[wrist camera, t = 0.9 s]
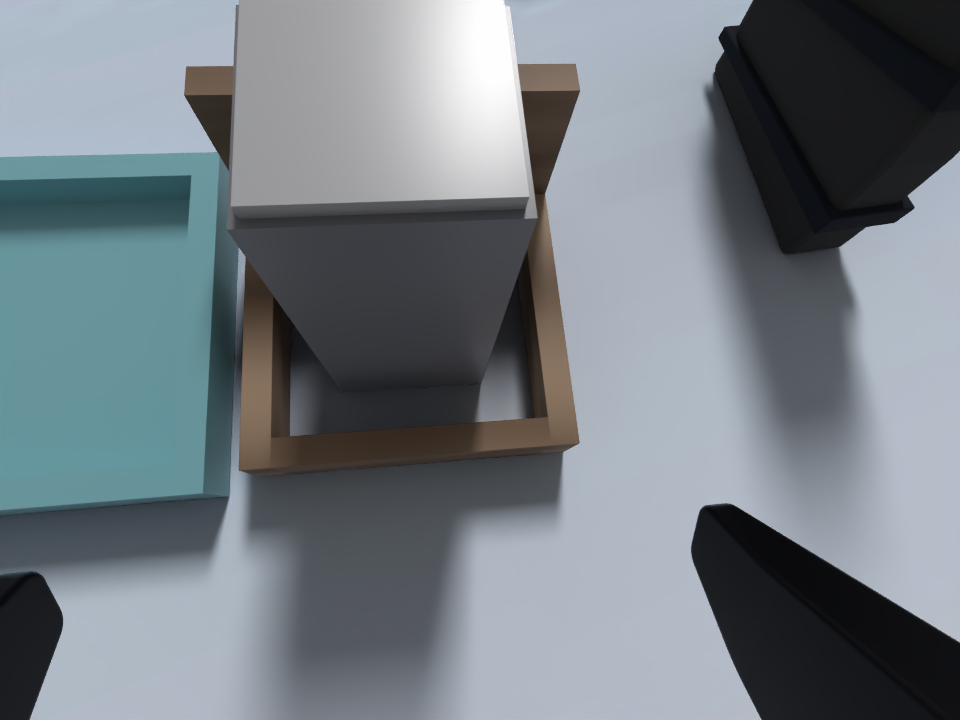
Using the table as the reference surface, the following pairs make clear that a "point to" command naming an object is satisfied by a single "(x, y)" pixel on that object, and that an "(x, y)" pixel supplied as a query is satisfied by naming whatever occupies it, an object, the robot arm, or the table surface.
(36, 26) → the table surface
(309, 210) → the grey lidded box
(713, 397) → the table surface
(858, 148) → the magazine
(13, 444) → the teal tray
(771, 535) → the robot arm
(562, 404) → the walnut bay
